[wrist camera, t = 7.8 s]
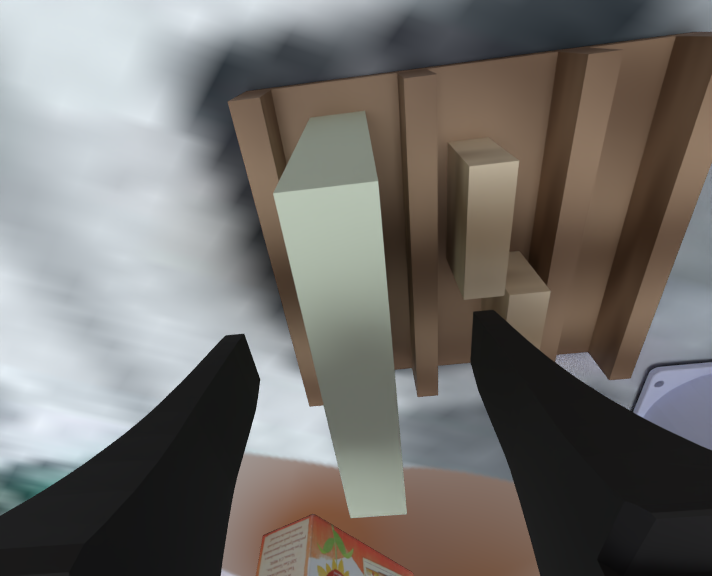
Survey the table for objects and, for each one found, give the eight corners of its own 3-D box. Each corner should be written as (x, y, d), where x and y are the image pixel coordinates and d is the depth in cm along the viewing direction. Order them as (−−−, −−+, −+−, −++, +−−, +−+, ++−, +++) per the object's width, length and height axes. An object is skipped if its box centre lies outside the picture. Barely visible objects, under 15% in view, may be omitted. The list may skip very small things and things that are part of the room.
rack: (601, 342, 21) (630, 378, 19) (313, 369, 22) (309, 406, 20) (693, 32, 13) (761, 31, 11) (246, 91, 14) (227, 101, 12)
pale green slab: (388, 357, 21) (406, 514, 14) (350, 360, 21) (350, 517, 14) (364, 110, 14) (378, 180, 7) (309, 117, 14) (273, 193, 7)
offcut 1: (480, 255, 17) (504, 295, 15) (446, 258, 17) (463, 299, 15) (488, 137, 15) (519, 160, 12) (447, 142, 15) (469, 166, 12)
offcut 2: (508, 337, 20) (533, 385, 17) (478, 340, 20) (498, 388, 17) (519, 250, 17) (550, 291, 14) (484, 254, 17) (509, 295, 15)
